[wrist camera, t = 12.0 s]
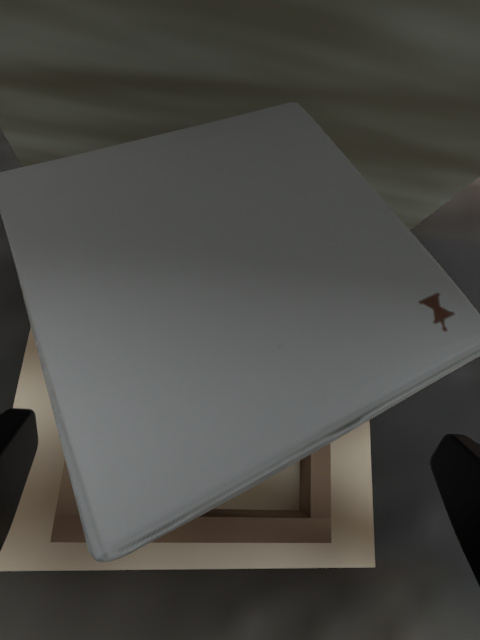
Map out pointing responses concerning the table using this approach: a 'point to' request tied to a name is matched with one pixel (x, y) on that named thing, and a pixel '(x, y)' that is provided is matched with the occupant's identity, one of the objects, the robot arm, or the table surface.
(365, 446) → the awning stand
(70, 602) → the table surface
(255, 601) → the table surface
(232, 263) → the supplement box
